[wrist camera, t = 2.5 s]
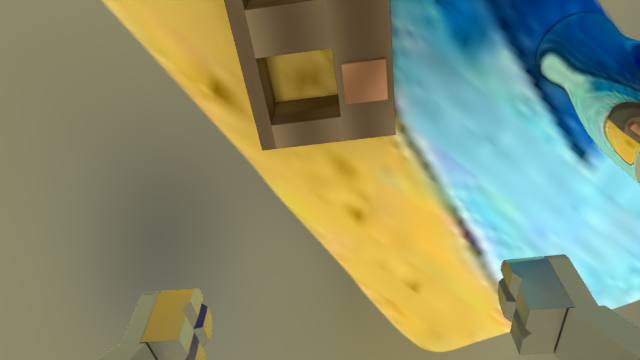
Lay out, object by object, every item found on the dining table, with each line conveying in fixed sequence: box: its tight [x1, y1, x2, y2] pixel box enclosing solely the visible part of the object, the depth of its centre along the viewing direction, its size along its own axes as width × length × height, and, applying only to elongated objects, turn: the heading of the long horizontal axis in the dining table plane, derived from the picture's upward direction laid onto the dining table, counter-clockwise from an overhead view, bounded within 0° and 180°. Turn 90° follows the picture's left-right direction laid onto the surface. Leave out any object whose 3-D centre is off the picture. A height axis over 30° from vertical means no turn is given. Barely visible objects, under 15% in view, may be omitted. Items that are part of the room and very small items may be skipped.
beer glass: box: [536, 12, 640, 184], centre depth 30 cm, size 7×7×15 cm
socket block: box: [224, 0, 396, 150], centre depth 32 cm, size 11×19×4 cm, turn 8°
